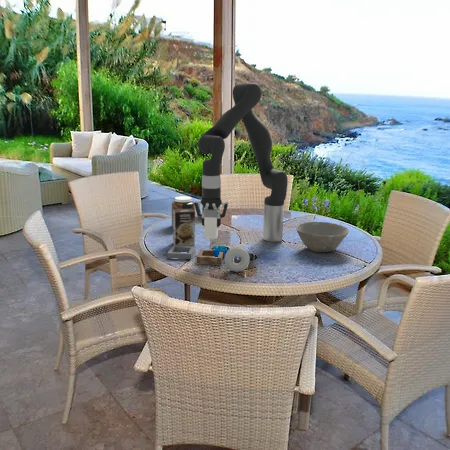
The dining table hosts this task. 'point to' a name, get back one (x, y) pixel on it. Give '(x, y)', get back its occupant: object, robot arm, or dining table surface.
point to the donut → (241, 265)
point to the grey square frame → (176, 251)
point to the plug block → (210, 224)
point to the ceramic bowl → (321, 235)
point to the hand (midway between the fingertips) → (211, 226)
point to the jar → (182, 204)
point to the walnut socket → (209, 257)
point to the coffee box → (183, 227)
